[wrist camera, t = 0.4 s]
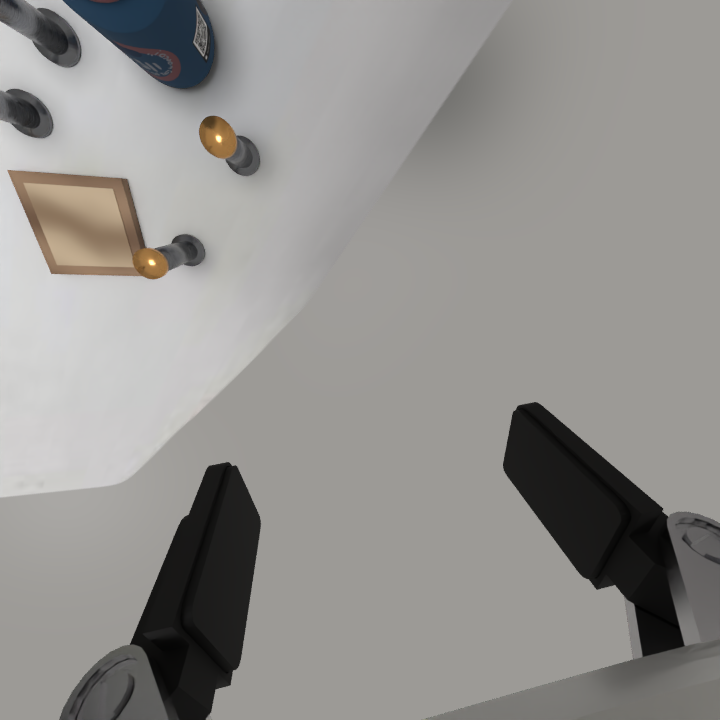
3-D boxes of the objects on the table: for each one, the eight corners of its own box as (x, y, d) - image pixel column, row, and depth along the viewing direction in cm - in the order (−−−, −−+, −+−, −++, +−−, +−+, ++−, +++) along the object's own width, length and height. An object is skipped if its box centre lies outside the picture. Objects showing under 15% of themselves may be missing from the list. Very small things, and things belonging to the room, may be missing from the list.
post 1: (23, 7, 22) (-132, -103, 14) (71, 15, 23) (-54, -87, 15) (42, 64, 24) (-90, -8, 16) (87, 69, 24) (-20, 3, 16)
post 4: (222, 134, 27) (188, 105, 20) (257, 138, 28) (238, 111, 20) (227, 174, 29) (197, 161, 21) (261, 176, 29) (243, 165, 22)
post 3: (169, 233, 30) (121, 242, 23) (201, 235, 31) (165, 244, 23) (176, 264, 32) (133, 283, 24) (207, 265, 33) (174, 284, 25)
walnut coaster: (17, 171, 26) (6, 170, 25) (126, 179, 28) (120, 178, 27) (58, 271, 31) (50, 273, 30) (152, 274, 32) (147, 276, 31)
